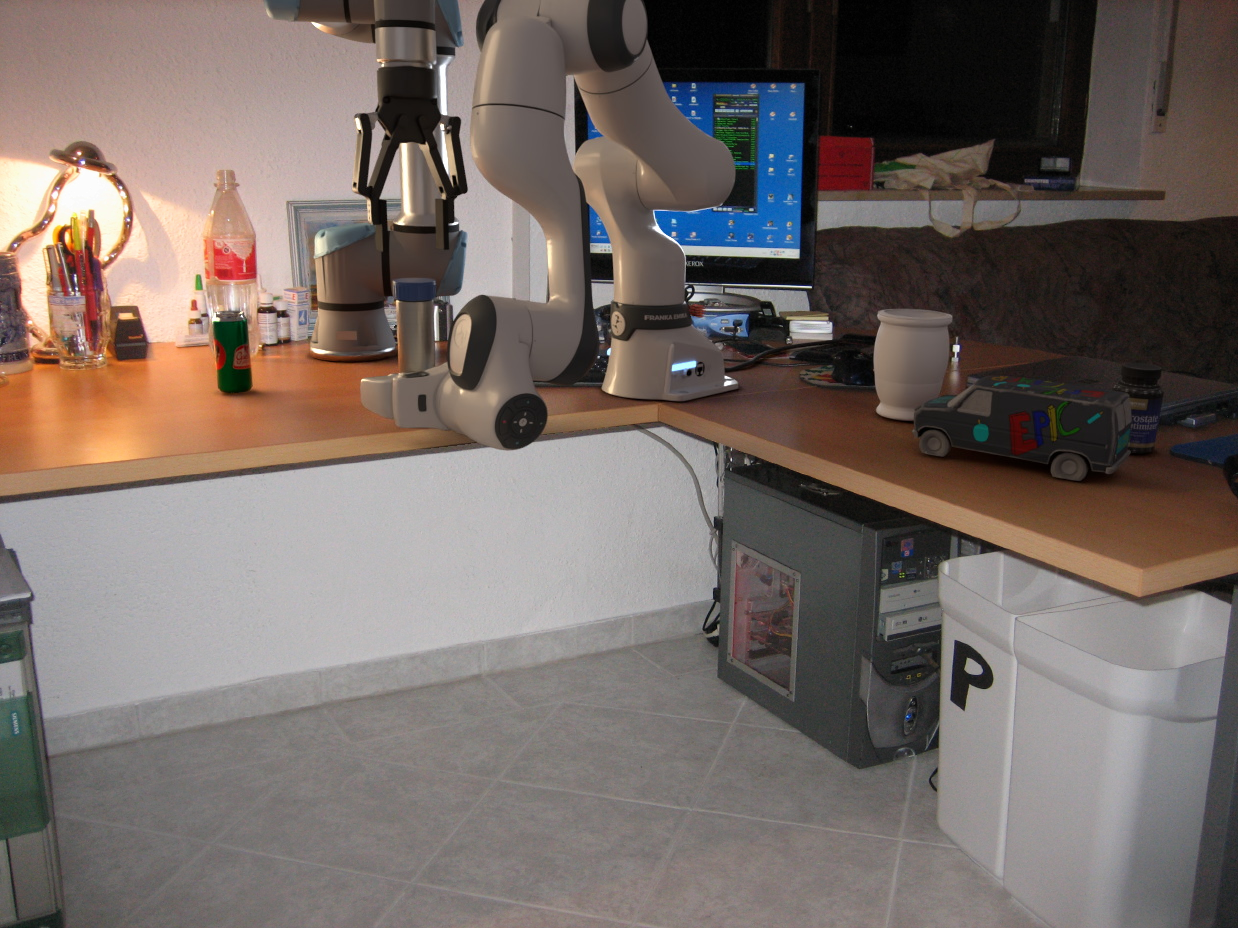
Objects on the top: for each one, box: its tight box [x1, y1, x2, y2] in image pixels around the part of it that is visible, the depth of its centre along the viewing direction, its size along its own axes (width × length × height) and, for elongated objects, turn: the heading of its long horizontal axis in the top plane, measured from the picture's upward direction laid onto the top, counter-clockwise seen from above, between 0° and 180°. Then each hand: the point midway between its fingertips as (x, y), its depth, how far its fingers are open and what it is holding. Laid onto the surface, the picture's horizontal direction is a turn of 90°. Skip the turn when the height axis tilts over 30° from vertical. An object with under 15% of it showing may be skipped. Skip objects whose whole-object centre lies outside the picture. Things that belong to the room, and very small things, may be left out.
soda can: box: [211, 310, 254, 395], centre depth 162 cm, size 5×5×12 cm
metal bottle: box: [395, 299, 436, 374], centre depth 146 cm, size 5×5×19 cm
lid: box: [392, 278, 436, 301], centre depth 143 cm, size 6×6×2 cm
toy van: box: [911, 374, 1133, 482], centre depth 133 cm, size 11×25×10 cm, turn 54°
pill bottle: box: [1111, 362, 1165, 455], centre depth 139 cm, size 6×6×11 cm
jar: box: [873, 308, 953, 422], centre depth 154 cm, size 11×10×15 cm
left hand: (413, 249), depth 142 cm, fingers open, 8 cm apart
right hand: (414, 377), depth 147 cm, fingers closed on metal bottle, 5 cm apart
